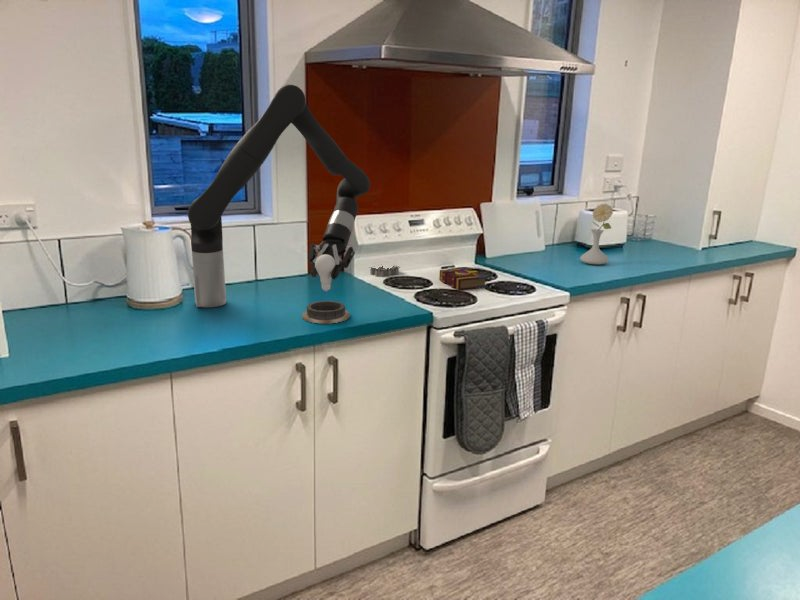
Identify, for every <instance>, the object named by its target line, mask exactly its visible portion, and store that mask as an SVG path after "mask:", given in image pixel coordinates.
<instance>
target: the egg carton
mask: <svg viewBox="0 0 800 600" xmlns="http://www.w3.org/2000/svg"><path fill="white" fill-rule="evenodd" d="M370 268H371V269H370V270H369V271H370V274H369V275H370V276H375V277H376V278H378V277H379V278H382V277H383V278H384V277H385V276H392V275H399V271H400V268H401V267H400V266H398V265H394V266H393V267H392V268H390V269H389V268H387V269H385V268H383V266H382V267H379V268H378V269H376V268H373V266H371V267H370Z"/></svg>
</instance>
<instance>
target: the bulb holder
mask: <svg viewBox="0 0 800 600" xmlns="http://www.w3.org/2000/svg"><path fill="white" fill-rule="evenodd" d="M350 316H351V315H350V312H349V311H348V310H346V305H345V304H344V303H343V302H339V301H335V300H318V301H313V302H311V303H309V304H308V305H307V306H306V310H305V311H303V312H302V320H303V319H304V321H305V320H306V321H308V322H307V323H309V322H312V323H311V324H314V323H318V324H317V325H333V324H332V323H336V324H339V323H338V322H341V323H343V322H342V321H344V322H345V320H346V321H348V320H349V319H350V318H349V317H350ZM348 318H349V319H348ZM347 319H348V320H347ZM306 321H305V322H306Z"/></svg>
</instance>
